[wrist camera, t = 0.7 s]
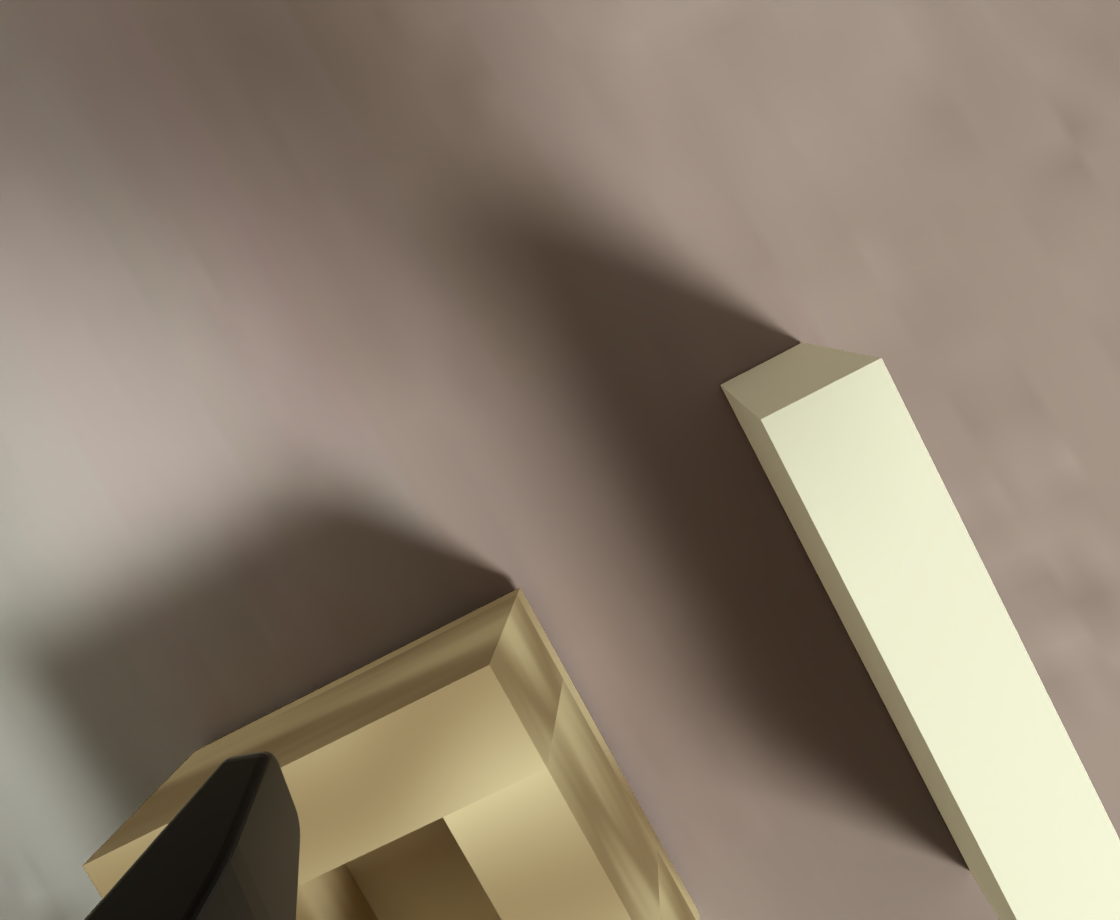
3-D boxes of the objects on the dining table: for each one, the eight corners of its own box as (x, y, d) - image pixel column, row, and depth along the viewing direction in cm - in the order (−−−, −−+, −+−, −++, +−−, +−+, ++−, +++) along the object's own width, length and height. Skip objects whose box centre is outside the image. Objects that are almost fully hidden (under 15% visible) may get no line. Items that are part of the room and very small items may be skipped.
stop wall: (1050, 837, 23) (1230, 1064, 16) (970, 872, 23) (1114, 1108, 16) (802, 342, 22) (881, 358, 15) (720, 385, 22) (760, 419, 15)
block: (698, 912, 24) (716, 1071, 19) (376, 1054, 25) (314, 1239, 20) (520, 587, 23) (489, 664, 18) (195, 751, 24) (82, 865, 19)
